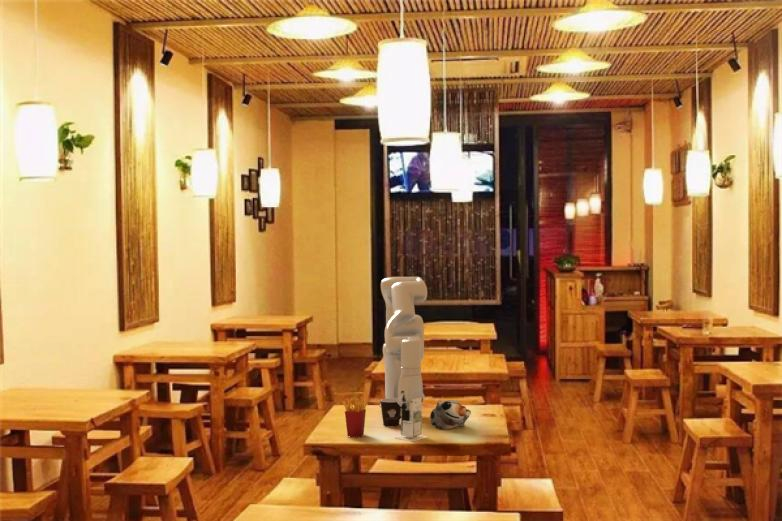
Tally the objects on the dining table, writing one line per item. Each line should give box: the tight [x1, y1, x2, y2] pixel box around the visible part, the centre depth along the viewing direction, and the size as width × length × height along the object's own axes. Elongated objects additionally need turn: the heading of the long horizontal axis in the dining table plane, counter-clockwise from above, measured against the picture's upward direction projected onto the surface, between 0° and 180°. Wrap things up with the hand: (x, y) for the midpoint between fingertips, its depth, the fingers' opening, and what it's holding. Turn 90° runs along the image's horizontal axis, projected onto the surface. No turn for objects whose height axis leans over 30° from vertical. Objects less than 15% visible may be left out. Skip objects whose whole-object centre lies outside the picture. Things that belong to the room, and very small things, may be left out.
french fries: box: [342, 395, 367, 438], centre depth 343 cm, size 9×8×15 cm
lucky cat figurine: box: [429, 399, 472, 431], centre depth 355 cm, size 15×12×14 cm
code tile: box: [395, 434, 428, 442], centre depth 339 cm, size 9×9×1 cm
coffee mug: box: [380, 398, 401, 427], centre depth 360 cm, size 12×9×10 cm
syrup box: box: [400, 397, 423, 437], centre depth 339 cm, size 6×6×14 cm
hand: (411, 418), depth 339 cm, fingers closed on syrup box, 5 cm apart
